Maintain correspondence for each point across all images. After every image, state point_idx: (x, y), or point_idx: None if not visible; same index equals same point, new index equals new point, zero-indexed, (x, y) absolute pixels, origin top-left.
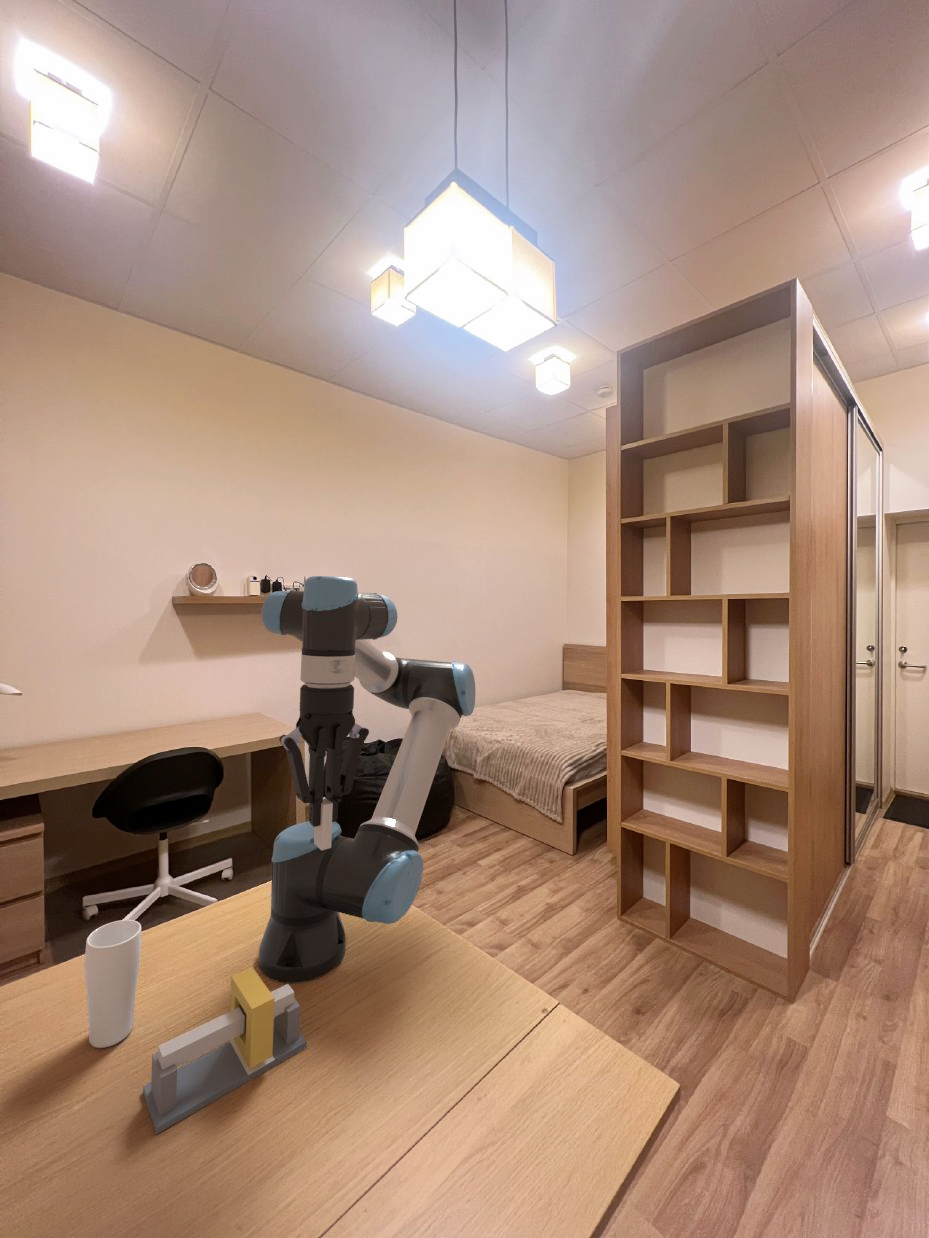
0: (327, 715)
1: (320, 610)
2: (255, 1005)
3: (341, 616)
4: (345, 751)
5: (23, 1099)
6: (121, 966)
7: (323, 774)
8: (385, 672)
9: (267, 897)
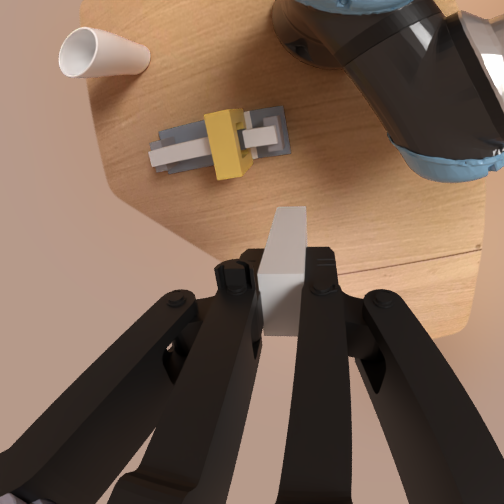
0: None
1: None
2: (221, 177)
3: None
4: (447, 465)
5: (95, 103)
6: (98, 74)
7: (240, 436)
8: None
9: None
